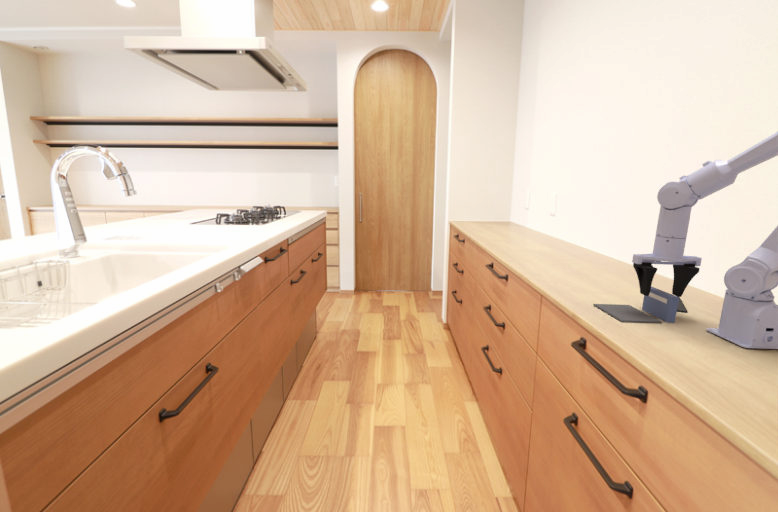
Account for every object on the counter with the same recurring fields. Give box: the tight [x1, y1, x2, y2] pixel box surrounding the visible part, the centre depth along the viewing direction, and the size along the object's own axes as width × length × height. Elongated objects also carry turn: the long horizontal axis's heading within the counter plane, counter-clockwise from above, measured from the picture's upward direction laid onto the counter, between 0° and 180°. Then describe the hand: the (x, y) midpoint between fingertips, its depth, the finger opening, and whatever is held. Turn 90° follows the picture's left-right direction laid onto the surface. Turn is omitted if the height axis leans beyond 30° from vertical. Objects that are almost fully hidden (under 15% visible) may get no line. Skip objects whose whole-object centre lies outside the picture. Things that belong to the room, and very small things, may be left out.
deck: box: [641, 286, 679, 324], centre depth 93 cm, size 9×2×6 cm, turn 1°
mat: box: [593, 303, 663, 324], centre depth 94 cm, size 12×9×1 cm
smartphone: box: [677, 296, 688, 314], centre depth 105 cm, size 7×1×15 cm
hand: (660, 295), depth 93 cm, fingers open, 7 cm apart
